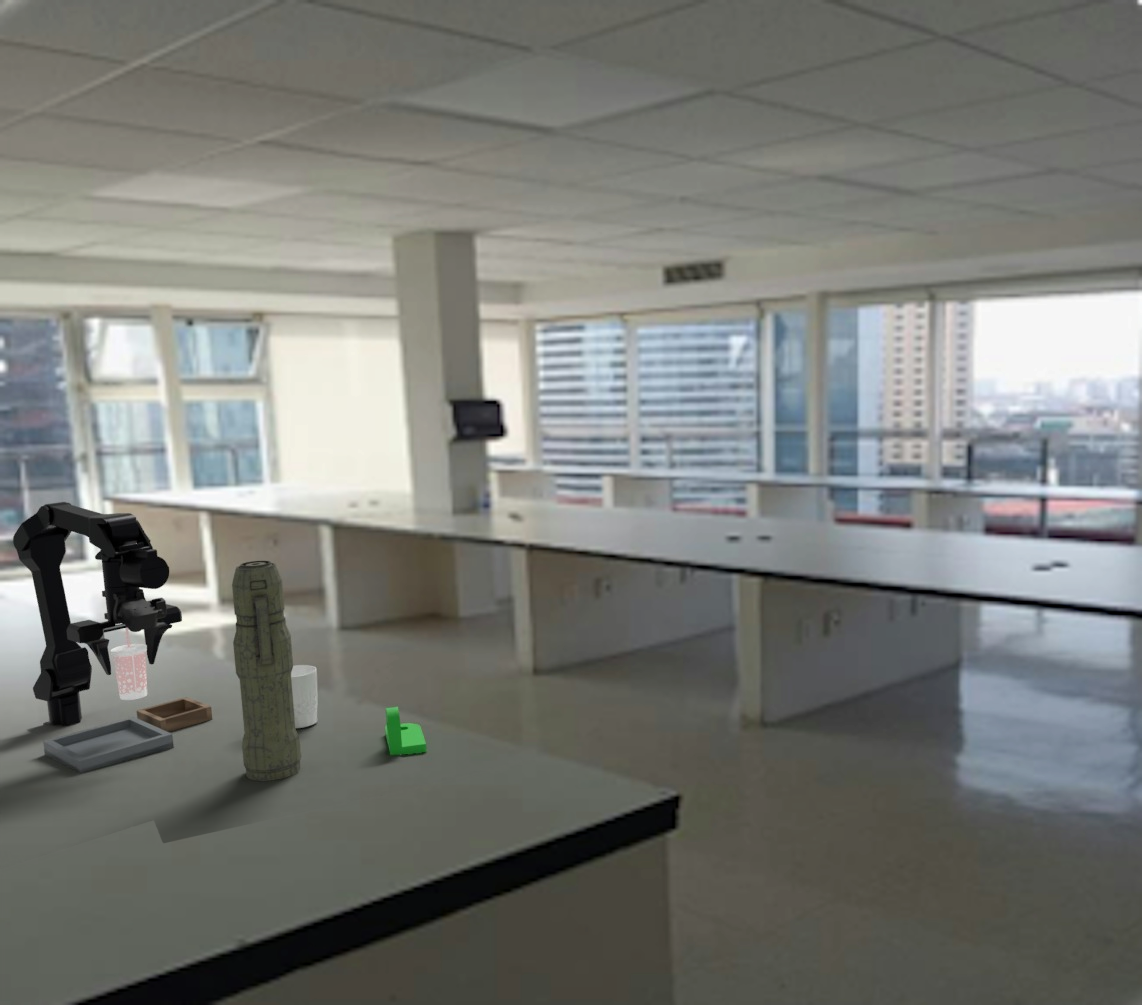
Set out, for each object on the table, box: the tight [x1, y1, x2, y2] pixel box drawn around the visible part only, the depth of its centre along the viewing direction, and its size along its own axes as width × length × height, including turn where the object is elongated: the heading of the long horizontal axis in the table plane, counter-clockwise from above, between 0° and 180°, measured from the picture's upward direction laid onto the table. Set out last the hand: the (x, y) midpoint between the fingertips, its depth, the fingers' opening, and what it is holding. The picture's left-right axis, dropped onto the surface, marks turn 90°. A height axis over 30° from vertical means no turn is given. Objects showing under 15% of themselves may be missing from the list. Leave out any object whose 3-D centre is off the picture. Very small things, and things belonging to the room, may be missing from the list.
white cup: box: [291, 664, 319, 729], centre depth 193 cm, size 8×8×10 cm
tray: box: [42, 716, 175, 774], centre depth 183 cm, size 16×16×2 cm
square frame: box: [136, 696, 213, 733], centre depth 198 cm, size 10×10×2 cm
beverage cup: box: [110, 628, 148, 701], centre depth 188 cm, size 6×6×14 cm
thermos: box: [231, 560, 302, 782], centre depth 166 cm, size 9×12×35 cm
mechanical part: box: [384, 706, 427, 756], centre depth 179 cm, size 12×6×8 cm, turn 14°
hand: (130, 669), depth 188 cm, fingers closed on beverage cup, 8 cm apart
